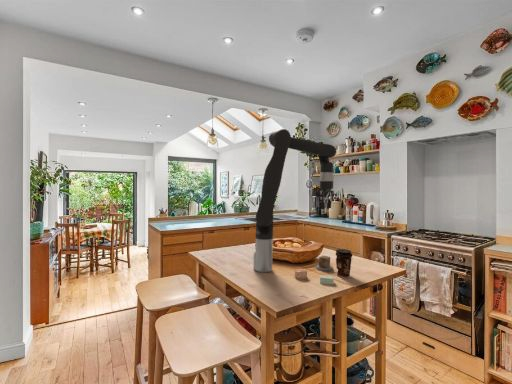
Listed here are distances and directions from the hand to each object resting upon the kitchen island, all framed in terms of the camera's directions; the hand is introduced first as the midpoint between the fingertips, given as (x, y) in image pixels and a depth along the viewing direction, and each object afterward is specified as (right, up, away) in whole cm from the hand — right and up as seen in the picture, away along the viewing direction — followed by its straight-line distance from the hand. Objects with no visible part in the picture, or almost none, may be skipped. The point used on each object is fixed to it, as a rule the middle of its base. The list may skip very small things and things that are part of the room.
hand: (325, 208), depth 155 cm
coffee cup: (+4, -34, -17) cm, 38 cm away
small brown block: (-18, -33, -21) cm, 43 cm away
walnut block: (-3, -32, -7) cm, 33 cm away
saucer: (-3, -33, -7) cm, 34 cm away
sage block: (-7, -34, -28) cm, 44 cm away
